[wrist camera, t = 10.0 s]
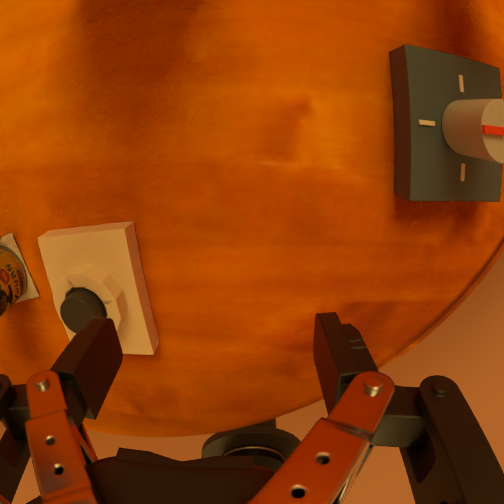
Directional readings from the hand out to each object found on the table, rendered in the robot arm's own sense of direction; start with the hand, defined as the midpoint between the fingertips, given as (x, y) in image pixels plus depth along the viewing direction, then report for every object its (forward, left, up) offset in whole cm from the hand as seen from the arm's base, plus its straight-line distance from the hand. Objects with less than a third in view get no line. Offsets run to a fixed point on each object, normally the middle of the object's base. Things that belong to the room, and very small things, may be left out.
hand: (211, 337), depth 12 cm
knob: (+8, -19, -12) cm, 23 cm away
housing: (-5, +12, -15) cm, 20 cm away
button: (-5, +12, -11) cm, 17 cm away
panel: (+8, -19, -15) cm, 25 cm away
